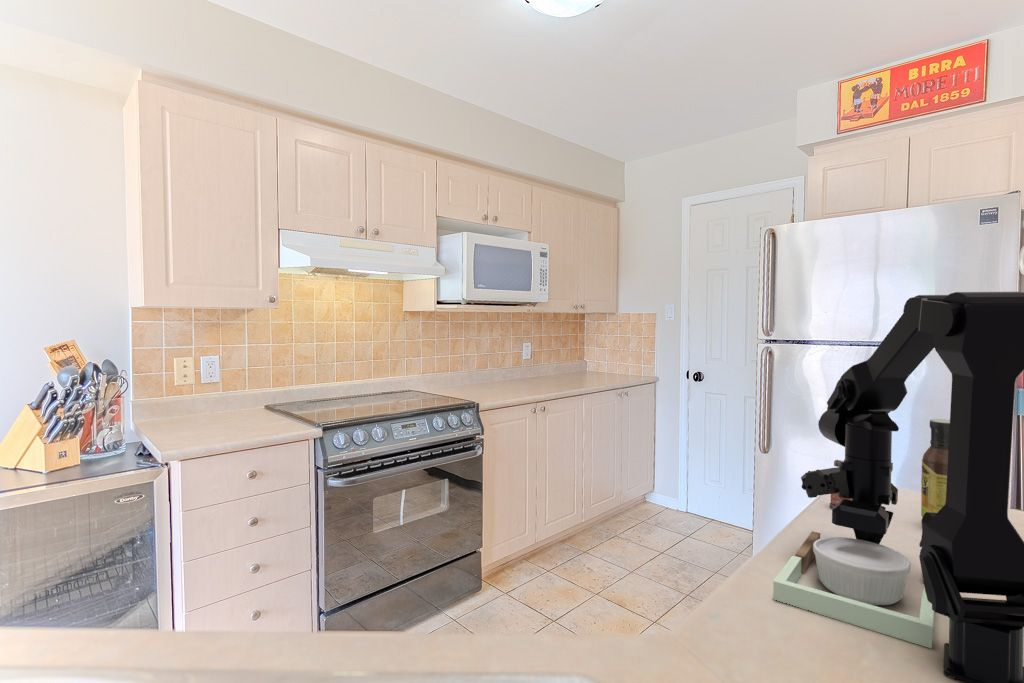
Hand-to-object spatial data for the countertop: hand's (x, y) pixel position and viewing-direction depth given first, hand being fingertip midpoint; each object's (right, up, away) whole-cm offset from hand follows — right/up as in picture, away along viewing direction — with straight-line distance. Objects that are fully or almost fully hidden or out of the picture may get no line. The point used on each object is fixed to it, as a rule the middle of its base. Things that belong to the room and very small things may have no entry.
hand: (865, 559), depth 78 cm
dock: (-8, -2, -10) cm, 13 cm away
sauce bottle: (+24, -2, +15) cm, 29 cm away
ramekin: (-5, -2, -6) cm, 8 cm away
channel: (-1, -2, -1) cm, 2 cm away
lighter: (+14, -1, +25) cm, 28 cm away
